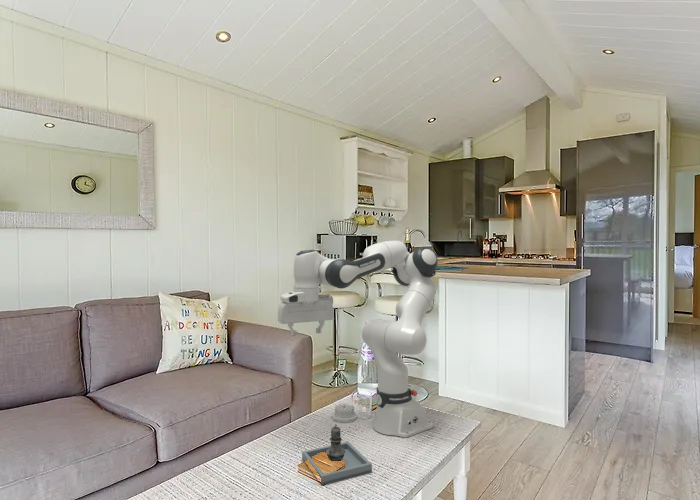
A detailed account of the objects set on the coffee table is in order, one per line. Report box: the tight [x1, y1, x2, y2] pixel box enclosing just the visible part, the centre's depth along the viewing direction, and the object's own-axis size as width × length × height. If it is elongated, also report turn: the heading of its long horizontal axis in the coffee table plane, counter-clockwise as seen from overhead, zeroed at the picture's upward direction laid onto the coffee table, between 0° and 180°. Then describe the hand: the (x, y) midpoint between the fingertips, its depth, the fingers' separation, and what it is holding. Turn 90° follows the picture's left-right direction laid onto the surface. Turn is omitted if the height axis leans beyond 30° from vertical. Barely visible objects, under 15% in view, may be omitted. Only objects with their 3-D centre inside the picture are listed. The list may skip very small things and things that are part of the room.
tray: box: [301, 441, 373, 486], centre depth 135 cm, size 16×16×2 cm
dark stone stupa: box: [326, 423, 345, 461], centre depth 135 cm, size 6×6×12 cm
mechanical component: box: [331, 403, 358, 423], centre depth 171 cm, size 10×4×10 cm
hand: (306, 334), depth 157 cm, fingers open, 8 cm apart
